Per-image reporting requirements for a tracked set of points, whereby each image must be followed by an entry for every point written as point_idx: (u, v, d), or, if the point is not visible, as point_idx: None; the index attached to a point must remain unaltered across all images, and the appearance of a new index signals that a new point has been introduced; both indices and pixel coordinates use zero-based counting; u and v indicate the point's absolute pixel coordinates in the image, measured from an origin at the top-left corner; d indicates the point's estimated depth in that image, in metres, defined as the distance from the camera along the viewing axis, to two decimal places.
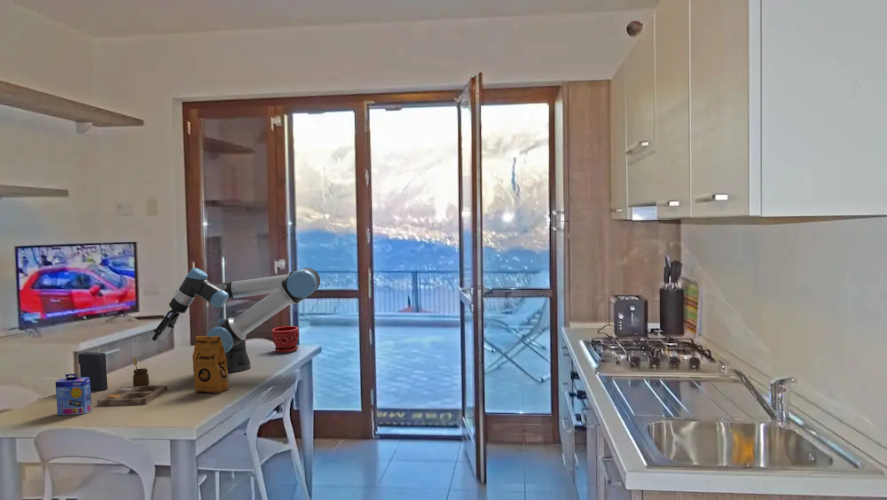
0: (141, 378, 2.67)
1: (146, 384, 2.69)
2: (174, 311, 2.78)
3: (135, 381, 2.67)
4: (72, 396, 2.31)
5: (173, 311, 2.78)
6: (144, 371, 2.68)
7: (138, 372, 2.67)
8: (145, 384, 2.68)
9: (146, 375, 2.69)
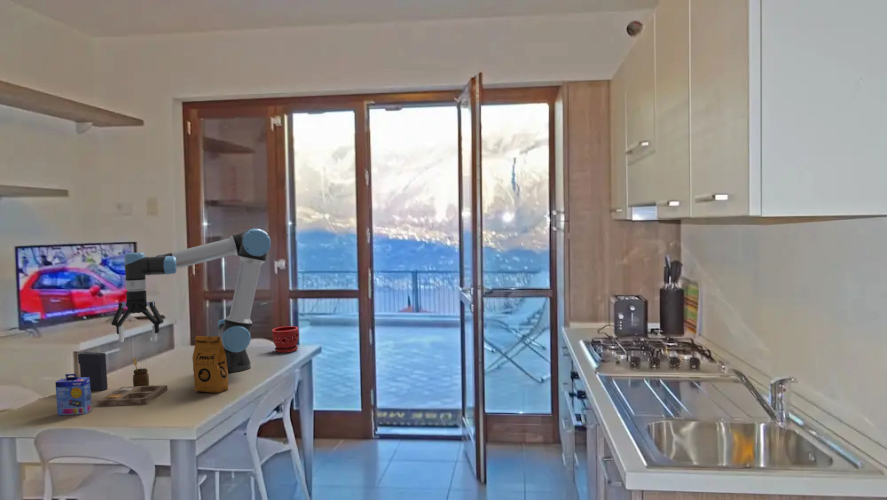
0: (141, 378, 2.67)
1: (146, 384, 2.69)
2: None
3: (135, 381, 2.67)
4: (72, 396, 2.31)
5: (145, 300, 2.68)
6: (144, 371, 2.68)
7: (138, 372, 2.67)
8: (145, 384, 2.68)
9: (146, 375, 2.69)
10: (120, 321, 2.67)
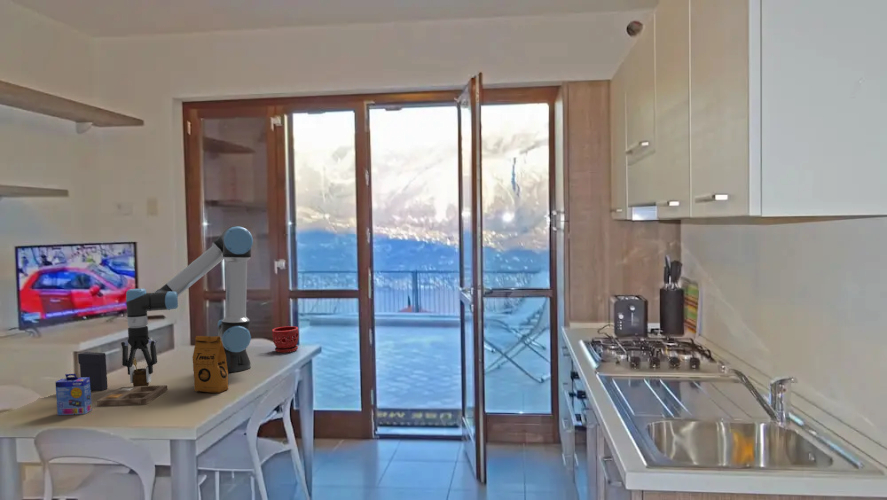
0: (141, 378, 2.67)
1: (146, 384, 2.69)
2: None
3: (135, 381, 2.67)
4: (72, 396, 2.31)
5: (148, 337, 2.69)
6: (144, 371, 2.68)
7: (138, 372, 2.67)
8: (145, 384, 2.68)
9: None
10: (129, 361, 2.68)
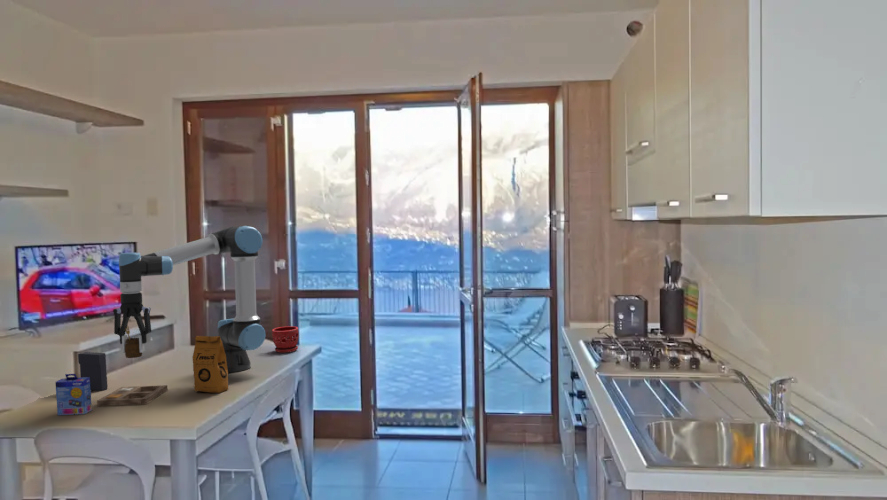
0: (133, 347, 2.50)
1: (139, 354, 2.52)
2: None
3: (127, 351, 2.50)
4: (72, 396, 2.31)
5: None
6: (137, 340, 2.52)
7: (130, 341, 2.50)
8: (138, 354, 2.51)
9: None
10: (122, 329, 2.52)
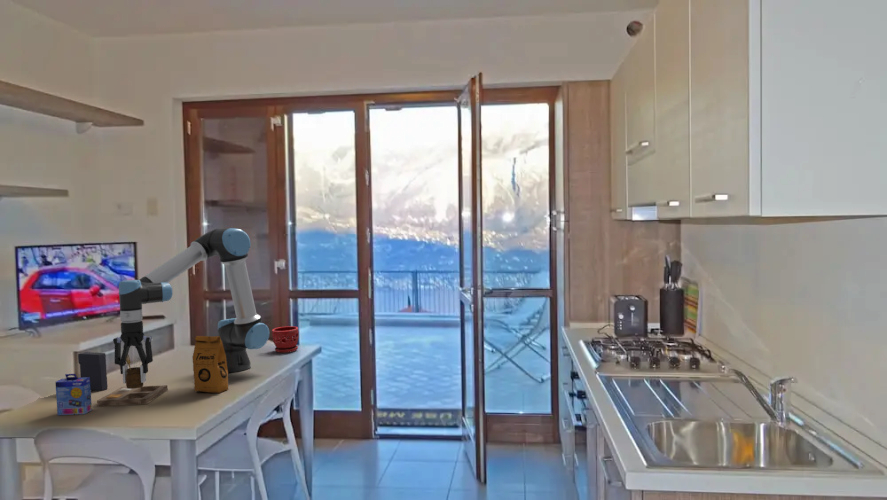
0: (135, 378, 2.44)
1: (140, 384, 2.45)
2: None
3: (128, 381, 2.44)
4: (72, 396, 2.31)
5: (143, 333, 2.46)
6: (138, 370, 2.45)
7: (131, 371, 2.44)
8: (139, 384, 2.45)
9: (140, 374, 2.46)
10: (122, 359, 2.45)
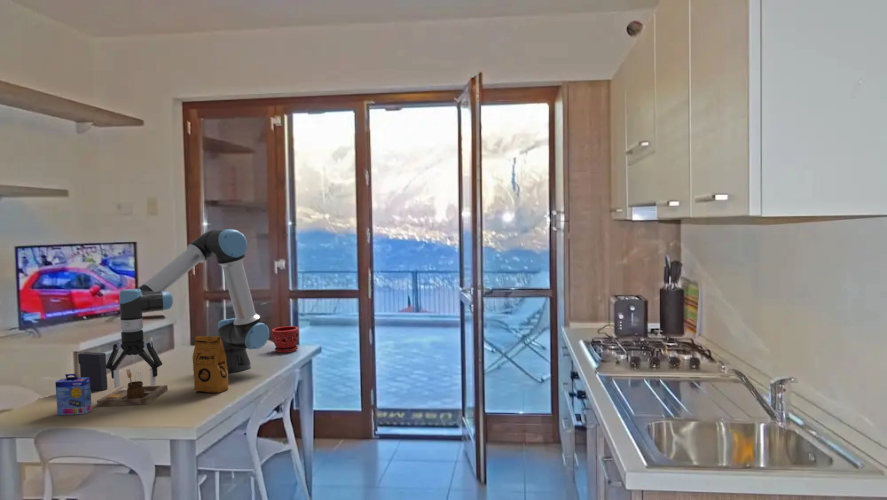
0: (136, 392, 2.44)
1: None
2: None
3: (129, 395, 2.44)
4: (72, 396, 2.31)
5: (142, 341, 2.46)
6: (139, 384, 2.45)
7: (132, 385, 2.44)
8: None
9: (141, 389, 2.46)
10: (115, 364, 2.45)
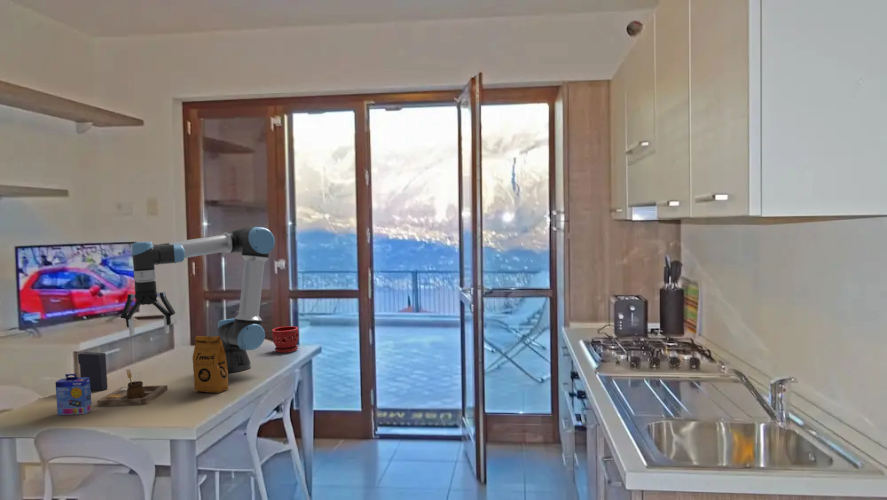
0: (136, 392, 2.44)
1: None
2: None
3: (129, 395, 2.44)
4: (72, 396, 2.31)
5: (155, 291, 2.57)
6: (139, 384, 2.45)
7: (132, 385, 2.44)
8: None
9: (141, 389, 2.46)
10: (130, 314, 2.56)
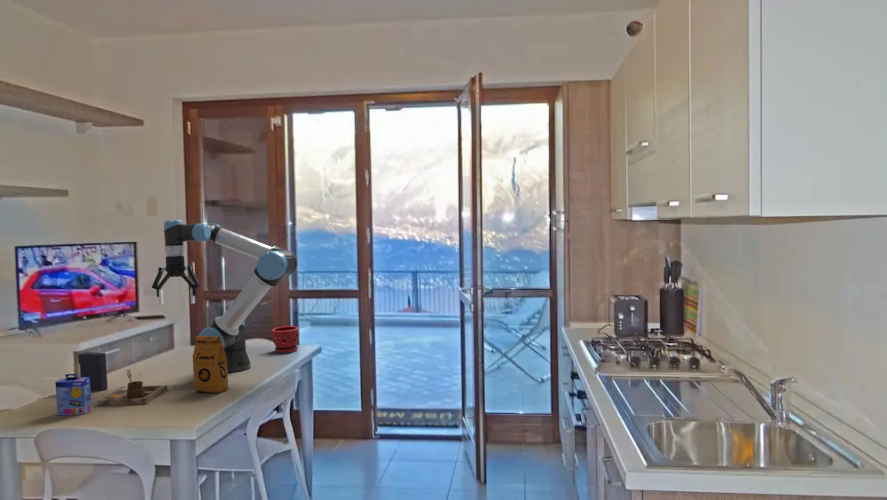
0: (136, 392, 2.44)
1: None
2: None
3: (129, 395, 2.44)
4: (72, 396, 2.31)
5: (183, 265, 2.85)
6: (139, 384, 2.45)
7: (132, 385, 2.44)
8: None
9: (141, 389, 2.46)
10: (160, 284, 2.84)
